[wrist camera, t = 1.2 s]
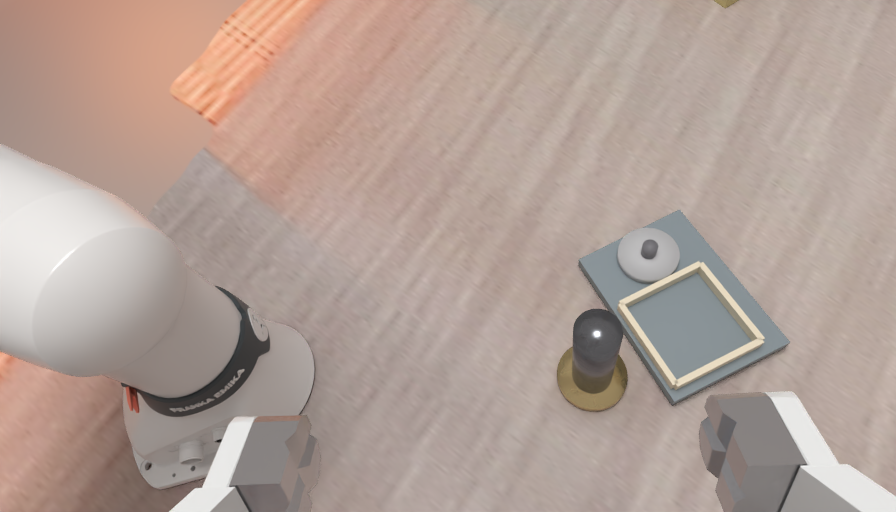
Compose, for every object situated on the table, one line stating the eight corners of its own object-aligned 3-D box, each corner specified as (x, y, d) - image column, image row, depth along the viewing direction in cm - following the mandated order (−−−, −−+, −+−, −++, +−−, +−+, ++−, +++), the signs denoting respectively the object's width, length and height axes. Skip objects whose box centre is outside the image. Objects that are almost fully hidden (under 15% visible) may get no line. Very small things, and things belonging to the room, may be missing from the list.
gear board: (671, 405, 56) (679, 394, 52) (578, 265, 65) (579, 247, 61) (785, 347, 57) (800, 332, 53) (677, 216, 65) (683, 195, 62)
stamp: (579, 423, 57) (582, 387, 45) (545, 363, 60) (540, 315, 48) (639, 392, 57) (659, 348, 45) (603, 334, 61) (612, 279, 48)
